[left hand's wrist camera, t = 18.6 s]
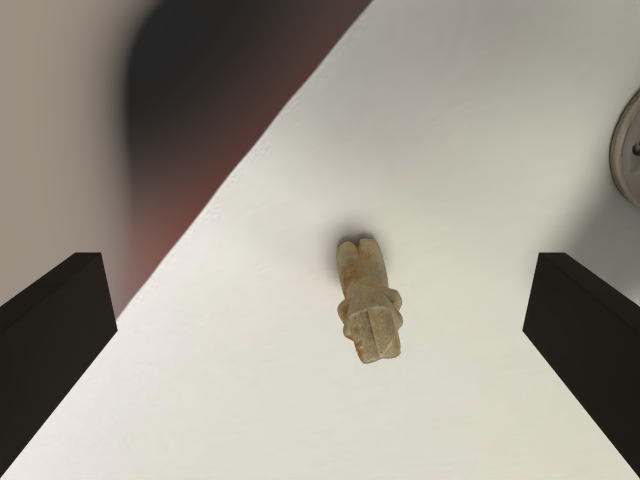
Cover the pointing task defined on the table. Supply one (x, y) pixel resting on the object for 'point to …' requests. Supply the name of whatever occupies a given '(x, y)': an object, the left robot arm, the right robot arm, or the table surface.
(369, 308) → the sculpture
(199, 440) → the table surface
